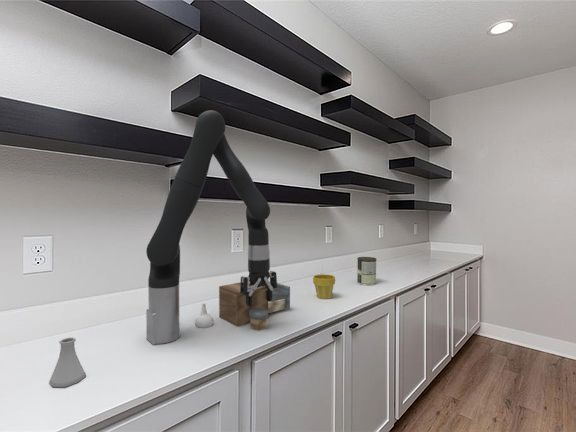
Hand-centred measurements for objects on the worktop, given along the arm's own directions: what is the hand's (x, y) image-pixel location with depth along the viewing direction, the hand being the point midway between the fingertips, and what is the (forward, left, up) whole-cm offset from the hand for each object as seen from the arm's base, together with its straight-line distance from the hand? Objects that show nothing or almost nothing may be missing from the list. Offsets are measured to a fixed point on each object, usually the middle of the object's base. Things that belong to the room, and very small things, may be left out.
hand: (259, 303), depth 112 cm
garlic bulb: (-13, +15, -9) cm, 22 cm away
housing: (+2, +12, -9) cm, 15 cm away
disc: (0, 0, -5) cm, 5 cm away
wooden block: (0, 0, -9) cm, 9 cm away
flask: (-55, +4, -9) cm, 56 cm away
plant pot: (+46, +10, -9) cm, 48 cm away
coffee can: (+84, +12, -9) cm, 85 cm away
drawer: (+14, +12, -8) cm, 20 cm away
